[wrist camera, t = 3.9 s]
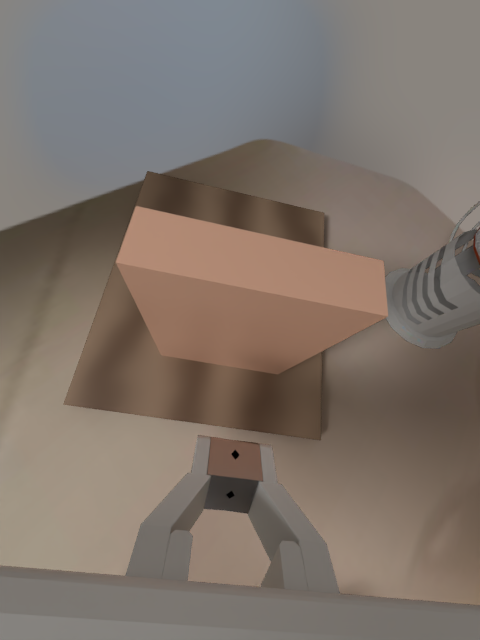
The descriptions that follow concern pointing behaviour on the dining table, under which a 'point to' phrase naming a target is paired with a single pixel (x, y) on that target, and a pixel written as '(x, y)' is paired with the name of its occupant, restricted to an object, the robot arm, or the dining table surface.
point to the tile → (244, 292)
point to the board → (187, 375)
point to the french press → (437, 293)
